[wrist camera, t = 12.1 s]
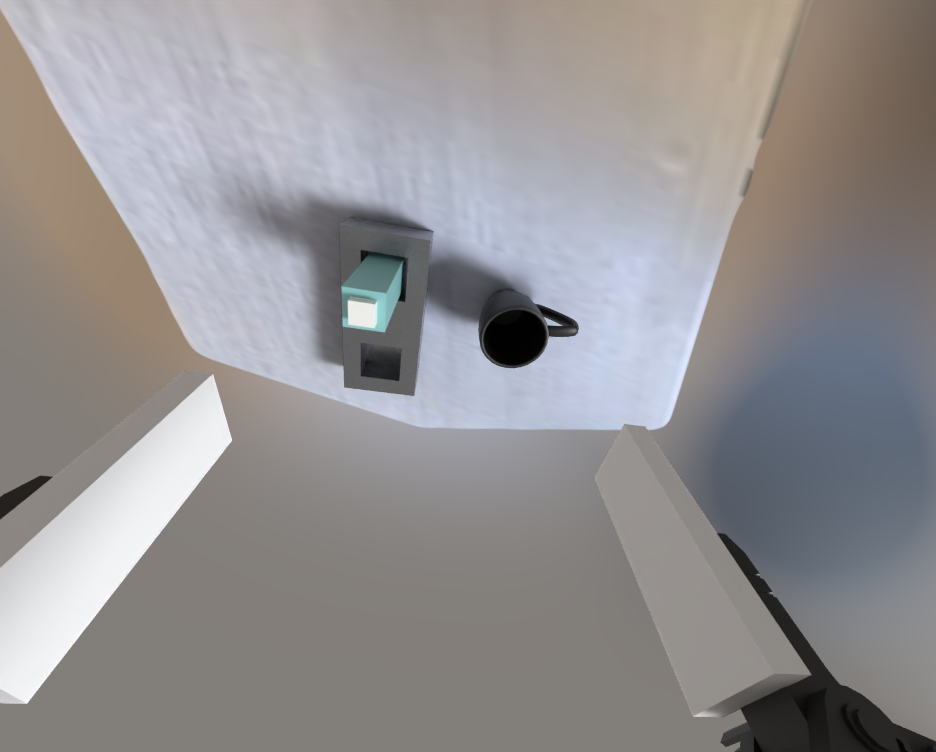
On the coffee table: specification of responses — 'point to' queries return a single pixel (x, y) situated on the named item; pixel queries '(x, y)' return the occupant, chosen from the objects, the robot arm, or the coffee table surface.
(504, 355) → the mug
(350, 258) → the socket panel
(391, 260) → the plug
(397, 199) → the coffee table surface
